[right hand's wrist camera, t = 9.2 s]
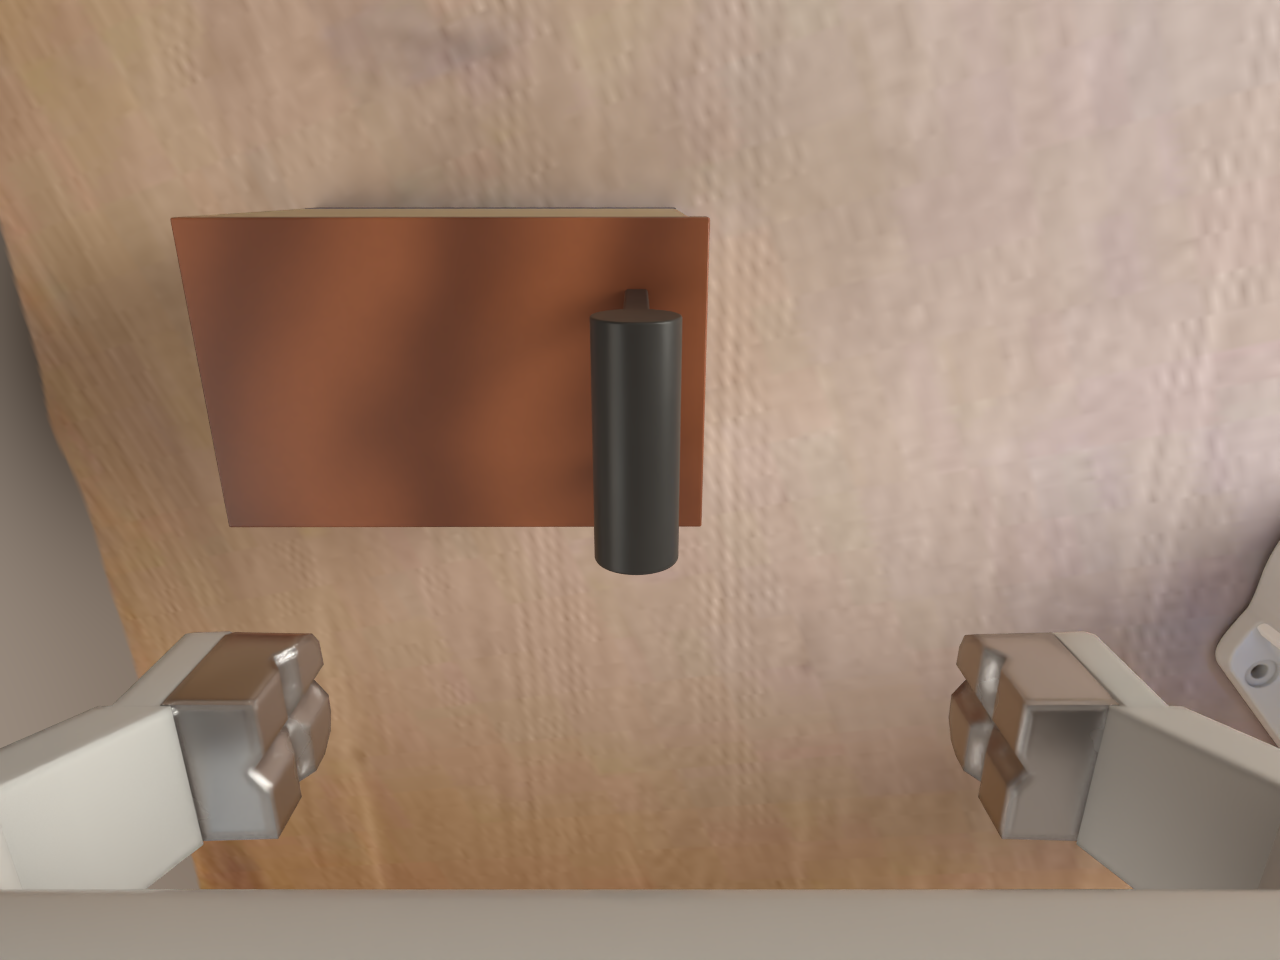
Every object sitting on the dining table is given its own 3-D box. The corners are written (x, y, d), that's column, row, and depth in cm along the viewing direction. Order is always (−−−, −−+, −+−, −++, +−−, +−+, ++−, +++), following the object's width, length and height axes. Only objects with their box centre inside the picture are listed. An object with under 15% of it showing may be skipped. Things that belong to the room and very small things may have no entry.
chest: (674, 207, 35) (689, 216, 25) (671, 431, 38) (683, 517, 28) (313, 207, 35) (184, 216, 25) (343, 432, 38) (240, 518, 28)
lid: (707, 216, 25) (740, 229, 17) (699, 517, 28) (723, 644, 20) (184, 216, 25) (-26, 230, 17) (240, 518, 28) (87, 645, 20)
